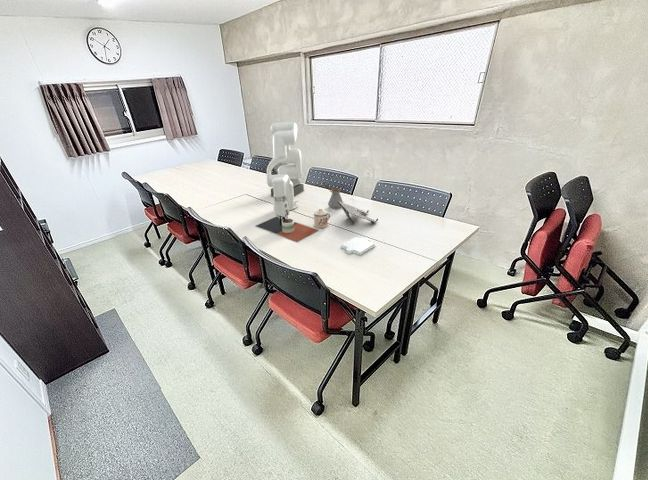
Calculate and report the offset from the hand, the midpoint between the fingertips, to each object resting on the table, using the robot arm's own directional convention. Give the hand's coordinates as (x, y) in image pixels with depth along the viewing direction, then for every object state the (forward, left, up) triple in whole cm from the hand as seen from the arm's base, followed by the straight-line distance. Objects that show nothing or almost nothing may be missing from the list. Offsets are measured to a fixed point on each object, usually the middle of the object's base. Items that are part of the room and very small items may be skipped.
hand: (282, 225), depth 187 cm
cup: (+1, +7, -2) cm, 7 cm away
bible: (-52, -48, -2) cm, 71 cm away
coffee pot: (-50, +2, -2) cm, 50 cm away
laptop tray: (-38, +33, -2) cm, 51 cm away
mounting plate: (-6, +54, -2) cm, 55 cm away
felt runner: (0, +3, -2) cm, 3 cm away
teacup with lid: (-18, +19, -2) cm, 27 cm away
